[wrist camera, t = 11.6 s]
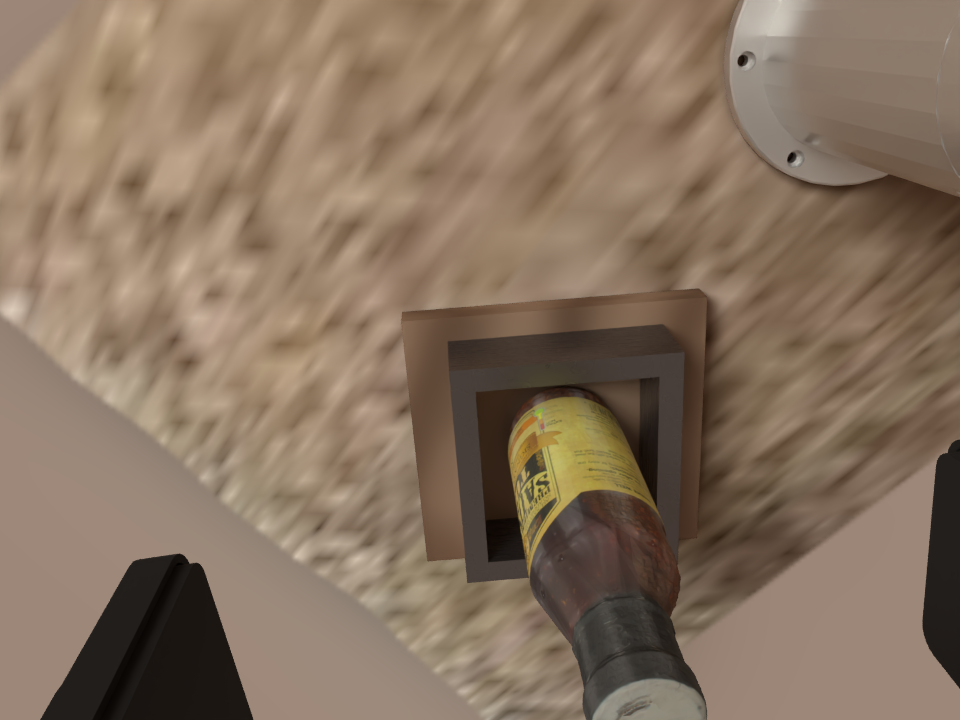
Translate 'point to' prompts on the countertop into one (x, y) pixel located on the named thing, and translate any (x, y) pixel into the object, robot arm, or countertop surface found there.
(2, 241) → the countertop surface
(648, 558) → the sauce bottle
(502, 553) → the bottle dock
